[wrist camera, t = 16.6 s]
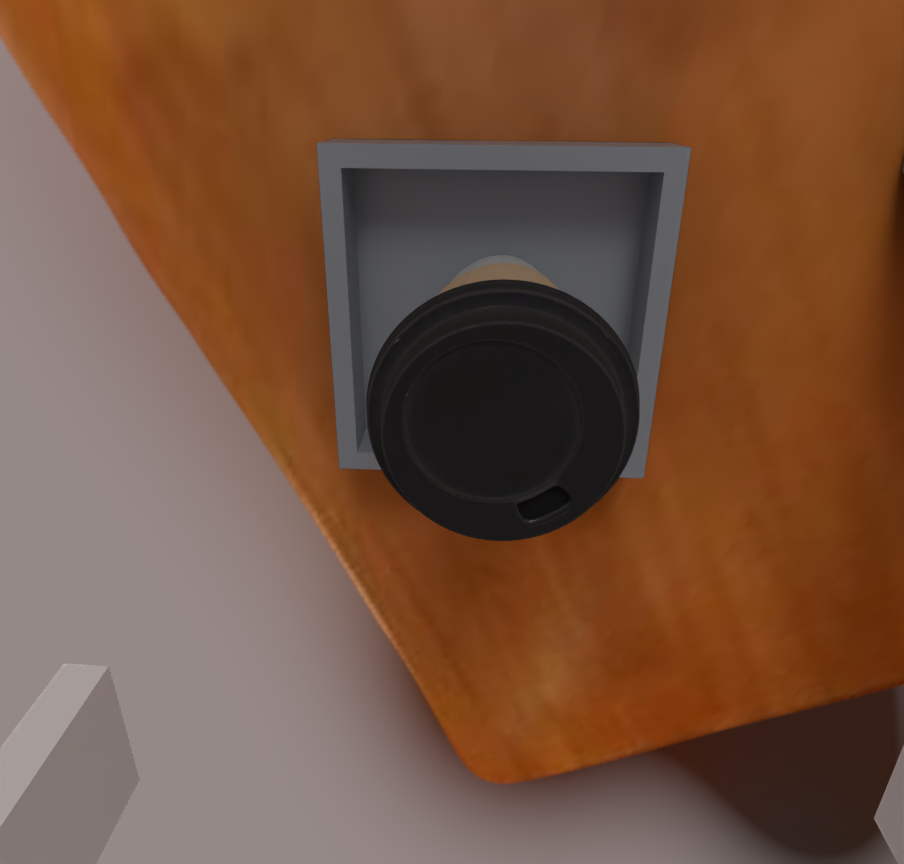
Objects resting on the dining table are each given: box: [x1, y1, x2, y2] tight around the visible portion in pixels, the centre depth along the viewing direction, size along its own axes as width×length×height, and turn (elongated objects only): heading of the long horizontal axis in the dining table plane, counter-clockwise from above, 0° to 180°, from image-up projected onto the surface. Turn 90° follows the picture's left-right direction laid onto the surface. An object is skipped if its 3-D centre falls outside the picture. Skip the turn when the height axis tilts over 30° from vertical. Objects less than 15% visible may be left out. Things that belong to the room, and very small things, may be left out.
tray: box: [317, 139, 691, 478], centre depth 35 cm, size 16×16×4 cm
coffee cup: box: [366, 255, 640, 541], centre depth 29 cm, size 9×9×15 cm
